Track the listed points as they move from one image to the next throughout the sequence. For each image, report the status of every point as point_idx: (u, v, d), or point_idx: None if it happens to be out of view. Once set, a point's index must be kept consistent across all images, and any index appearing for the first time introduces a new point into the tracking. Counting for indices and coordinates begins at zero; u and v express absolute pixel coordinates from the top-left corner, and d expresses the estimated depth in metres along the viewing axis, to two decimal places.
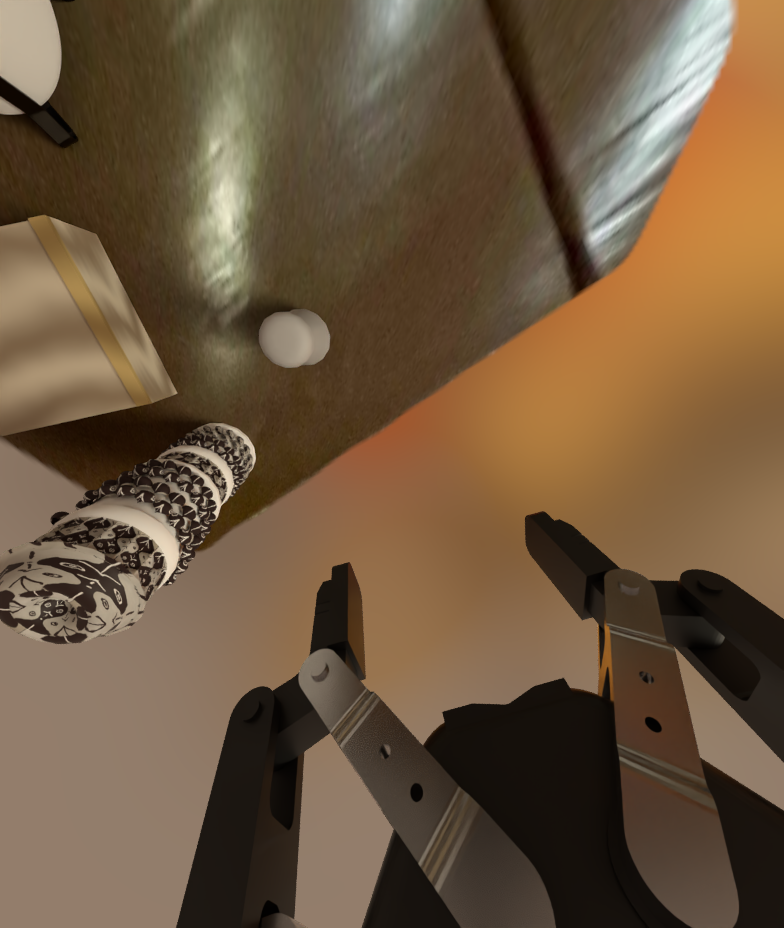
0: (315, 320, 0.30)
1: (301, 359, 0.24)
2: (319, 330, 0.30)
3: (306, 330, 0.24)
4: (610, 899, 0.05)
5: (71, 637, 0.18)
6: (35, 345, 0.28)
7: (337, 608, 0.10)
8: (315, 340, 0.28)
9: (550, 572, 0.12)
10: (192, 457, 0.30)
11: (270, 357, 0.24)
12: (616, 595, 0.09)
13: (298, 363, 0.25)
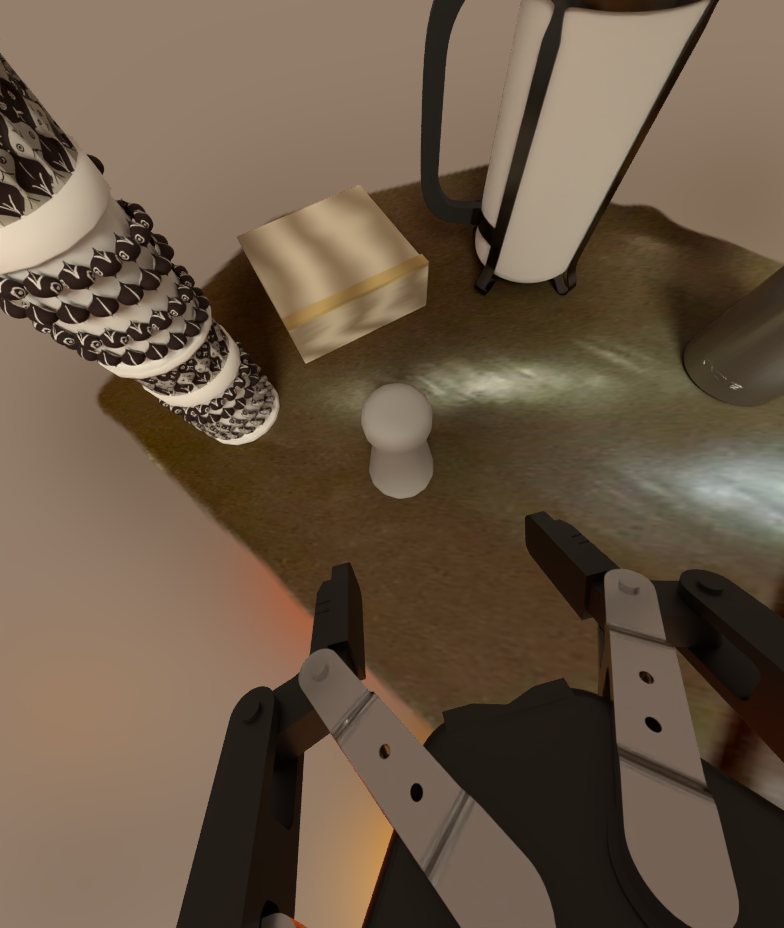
0: (427, 470, 0.24)
1: (378, 435, 0.17)
2: (418, 476, 0.23)
3: (419, 434, 0.17)
4: (610, 899, 0.05)
5: None
6: (324, 257, 0.32)
7: (337, 608, 0.10)
8: (405, 467, 0.21)
9: (550, 572, 0.12)
10: (220, 352, 0.23)
11: (369, 398, 0.17)
12: (616, 595, 0.09)
13: (371, 433, 0.17)
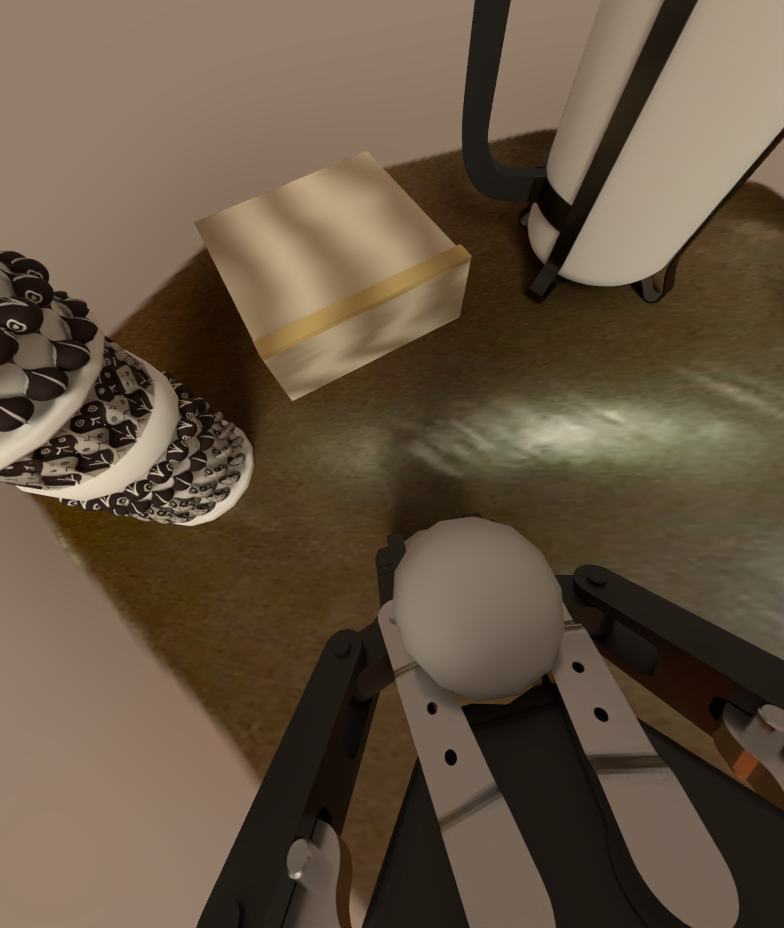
0: None
1: (441, 676, 0.07)
2: None
3: (543, 671, 0.07)
4: (610, 899, 0.05)
5: None
6: (318, 250, 0.22)
7: None
8: None
9: None
10: (132, 411, 0.13)
11: (412, 564, 0.07)
12: None
13: (422, 663, 0.07)
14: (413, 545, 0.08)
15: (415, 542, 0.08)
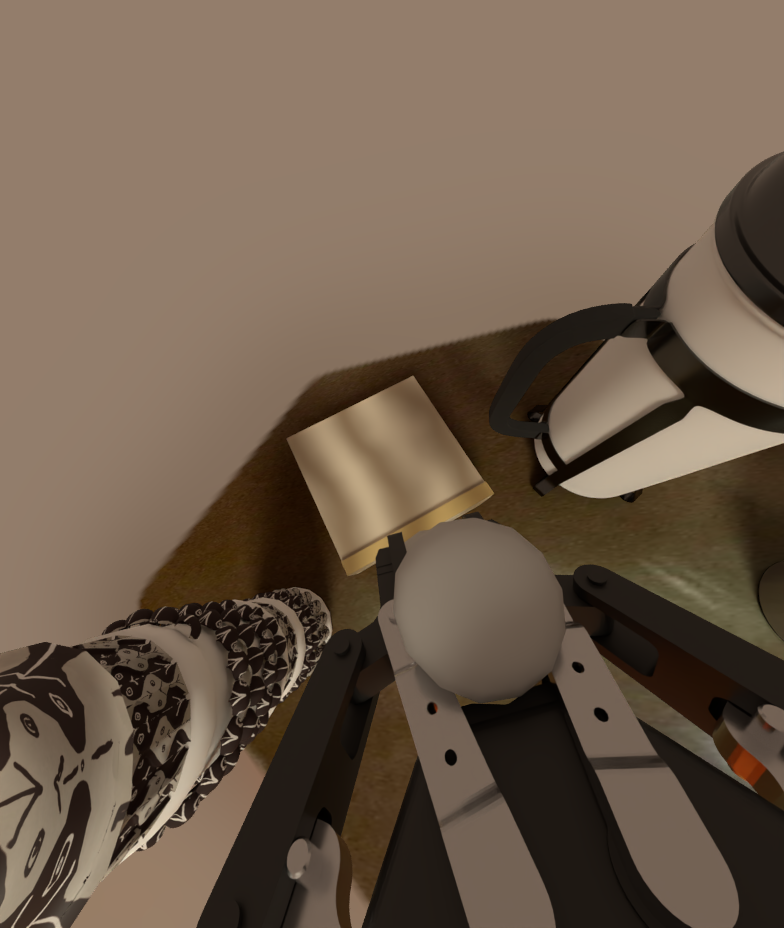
0: None
1: (442, 677, 0.07)
2: None
3: (545, 673, 0.07)
4: (610, 899, 0.05)
5: None
6: (381, 474, 0.31)
7: None
8: None
9: None
10: (291, 665, 0.22)
11: (413, 565, 0.07)
12: None
13: (423, 665, 0.07)
14: (414, 546, 0.08)
15: (416, 543, 0.08)
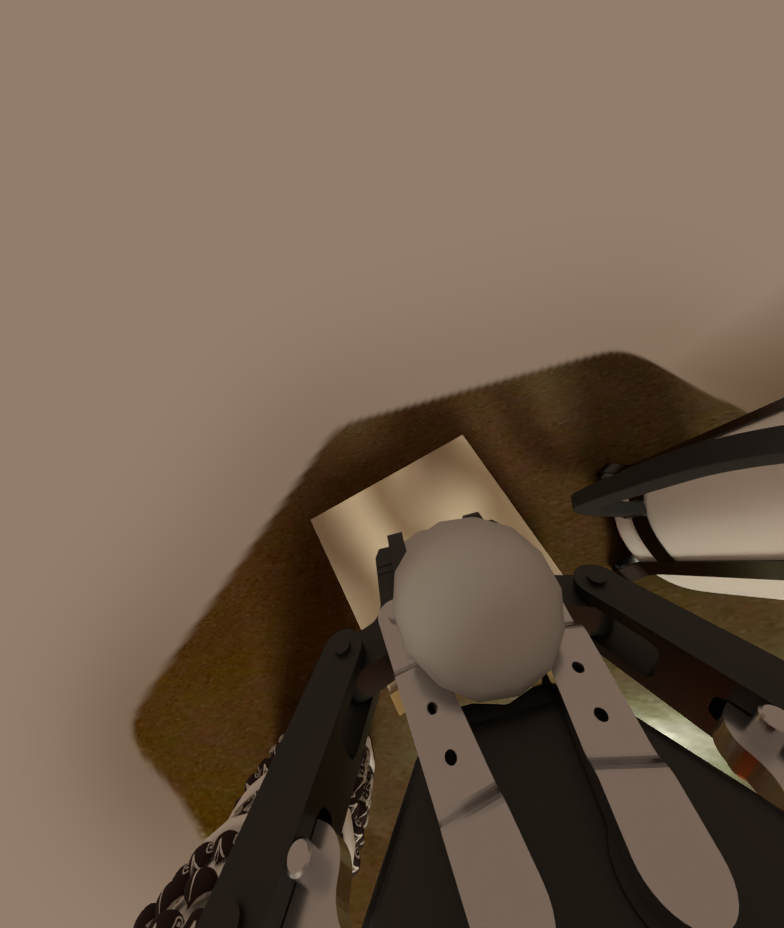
0: None
1: (441, 677, 0.07)
2: None
3: (544, 672, 0.07)
4: (610, 899, 0.05)
5: None
6: None
7: None
8: None
9: None
10: None
11: (413, 564, 0.07)
12: None
13: (422, 664, 0.07)
14: (413, 546, 0.08)
15: (415, 543, 0.08)
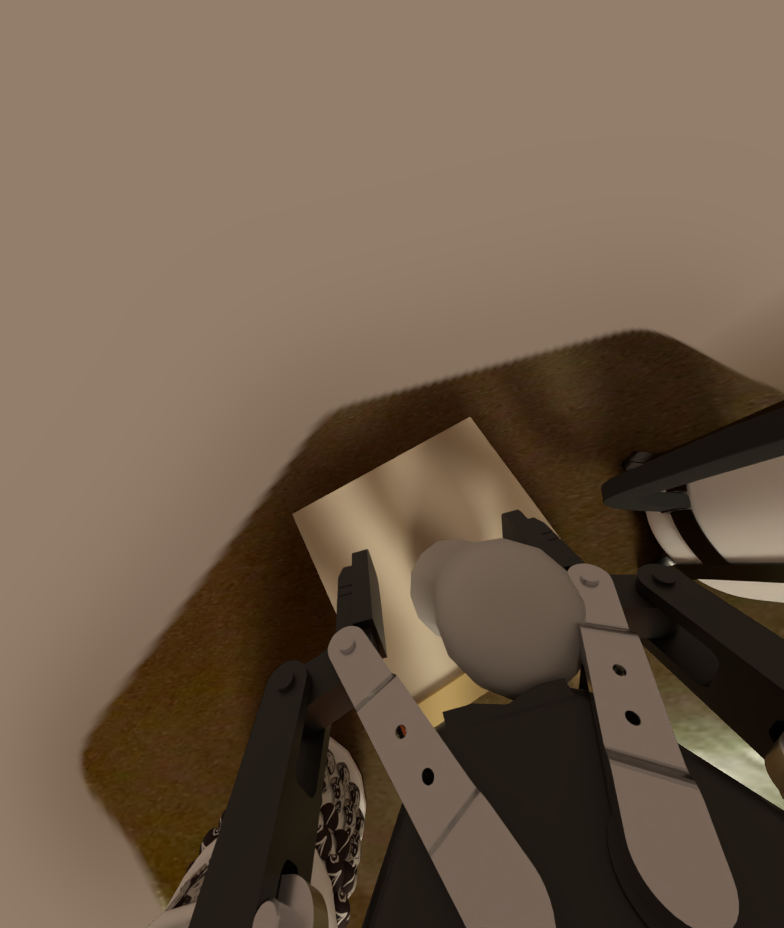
0: None
1: (485, 679, 0.08)
2: None
3: (572, 676, 0.08)
4: (610, 899, 0.05)
5: None
6: None
7: (360, 590, 0.11)
8: None
9: None
10: None
11: (455, 582, 0.09)
12: None
13: (467, 669, 0.08)
14: (454, 565, 0.09)
15: (455, 562, 0.09)
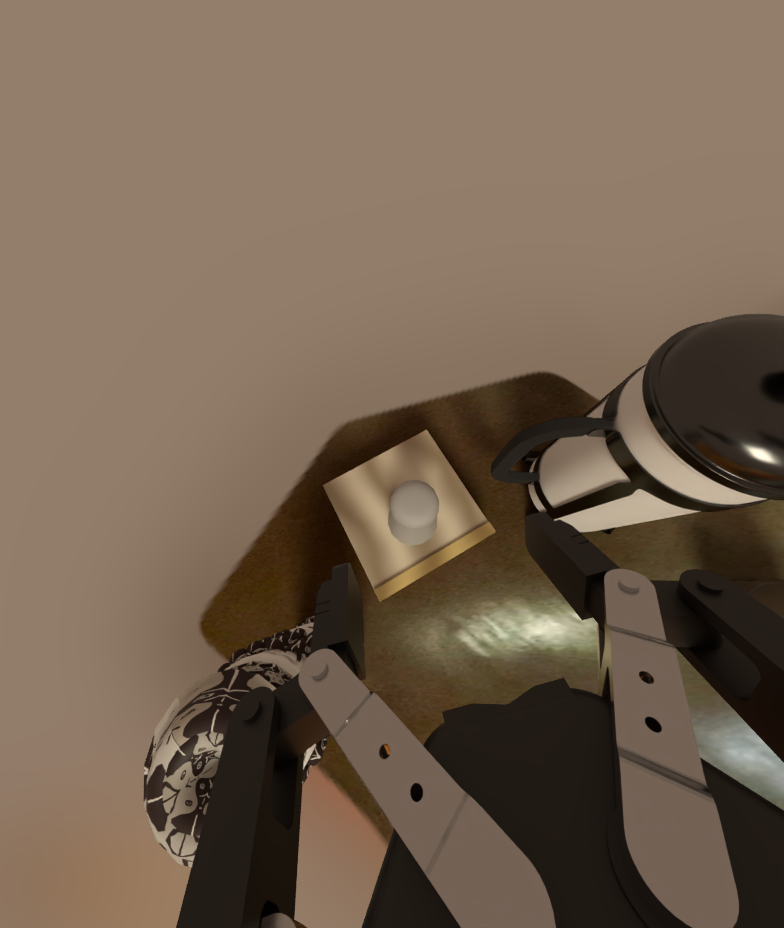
0: (433, 527, 0.32)
1: (403, 520, 0.25)
2: (426, 532, 0.31)
3: (430, 519, 0.25)
4: (610, 899, 0.05)
5: (159, 807, 0.14)
6: None
7: (337, 608, 0.10)
8: (418, 530, 0.29)
9: (550, 572, 0.12)
10: None
11: (395, 492, 0.25)
12: (616, 595, 0.09)
13: (398, 518, 0.25)
14: (396, 488, 0.26)
15: None
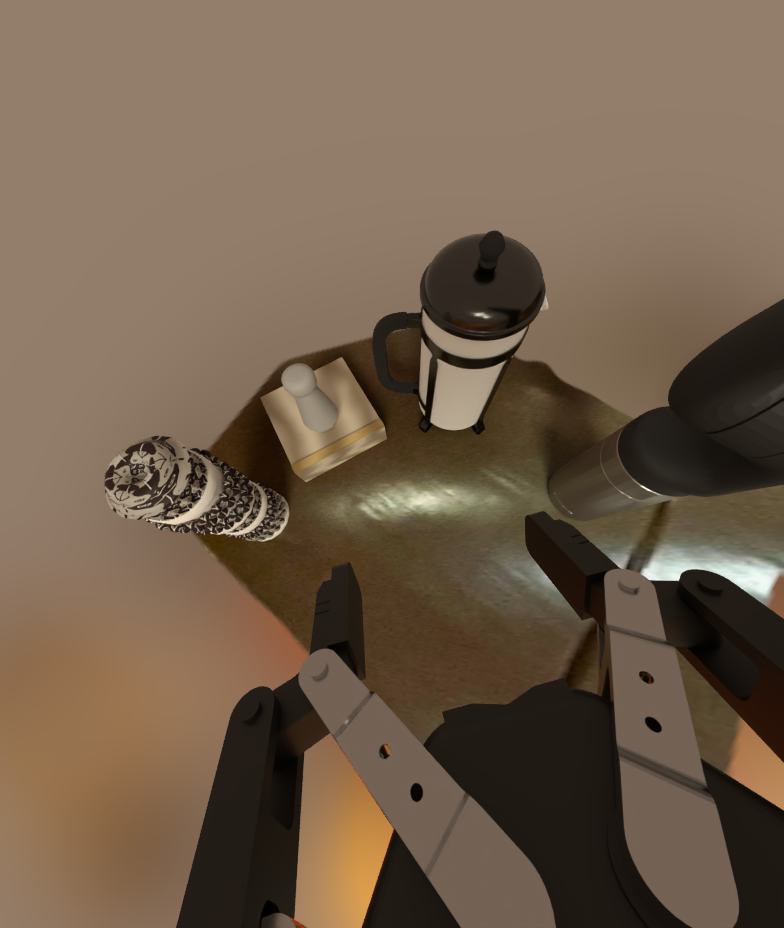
0: (328, 413, 0.44)
1: (287, 386, 0.37)
2: (322, 415, 0.43)
3: (306, 385, 0.37)
4: (610, 899, 0.05)
5: (111, 481, 0.26)
6: None
7: (337, 608, 0.10)
8: (311, 407, 0.41)
9: (550, 572, 0.12)
10: (257, 507, 0.40)
11: (285, 370, 0.38)
12: (616, 595, 0.09)
13: (284, 385, 0.37)
14: (286, 368, 0.38)
15: None
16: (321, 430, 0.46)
